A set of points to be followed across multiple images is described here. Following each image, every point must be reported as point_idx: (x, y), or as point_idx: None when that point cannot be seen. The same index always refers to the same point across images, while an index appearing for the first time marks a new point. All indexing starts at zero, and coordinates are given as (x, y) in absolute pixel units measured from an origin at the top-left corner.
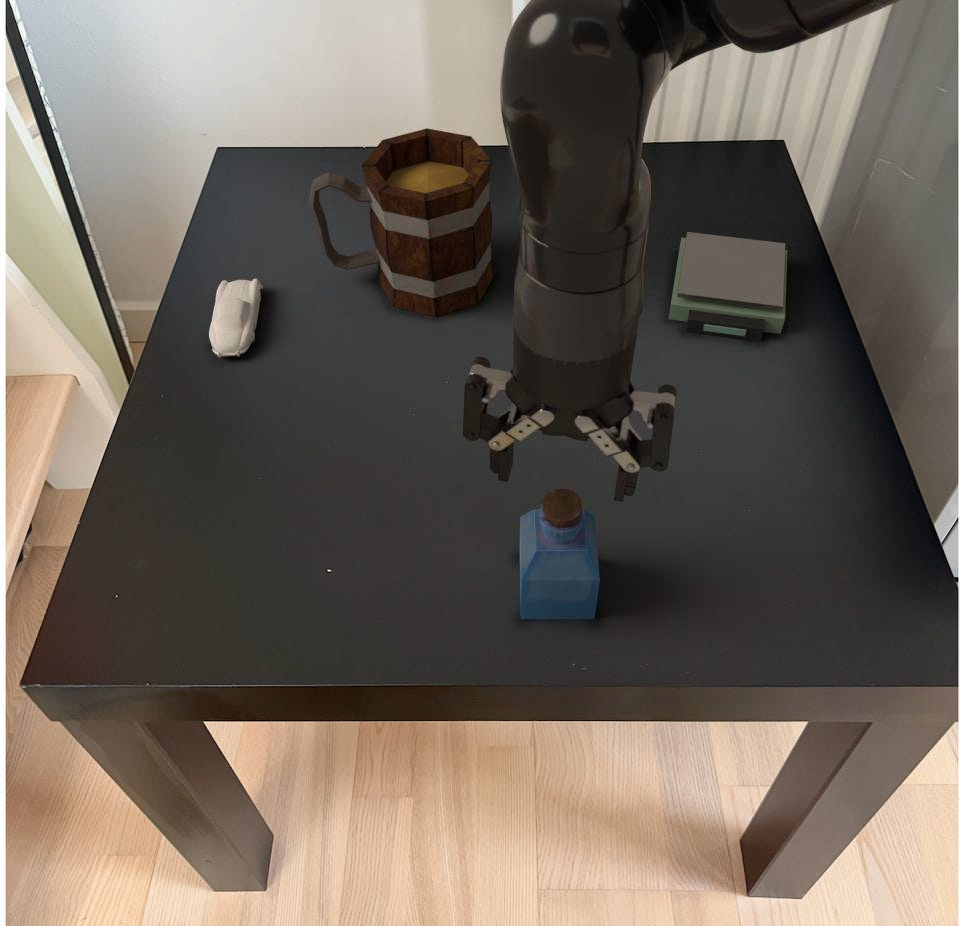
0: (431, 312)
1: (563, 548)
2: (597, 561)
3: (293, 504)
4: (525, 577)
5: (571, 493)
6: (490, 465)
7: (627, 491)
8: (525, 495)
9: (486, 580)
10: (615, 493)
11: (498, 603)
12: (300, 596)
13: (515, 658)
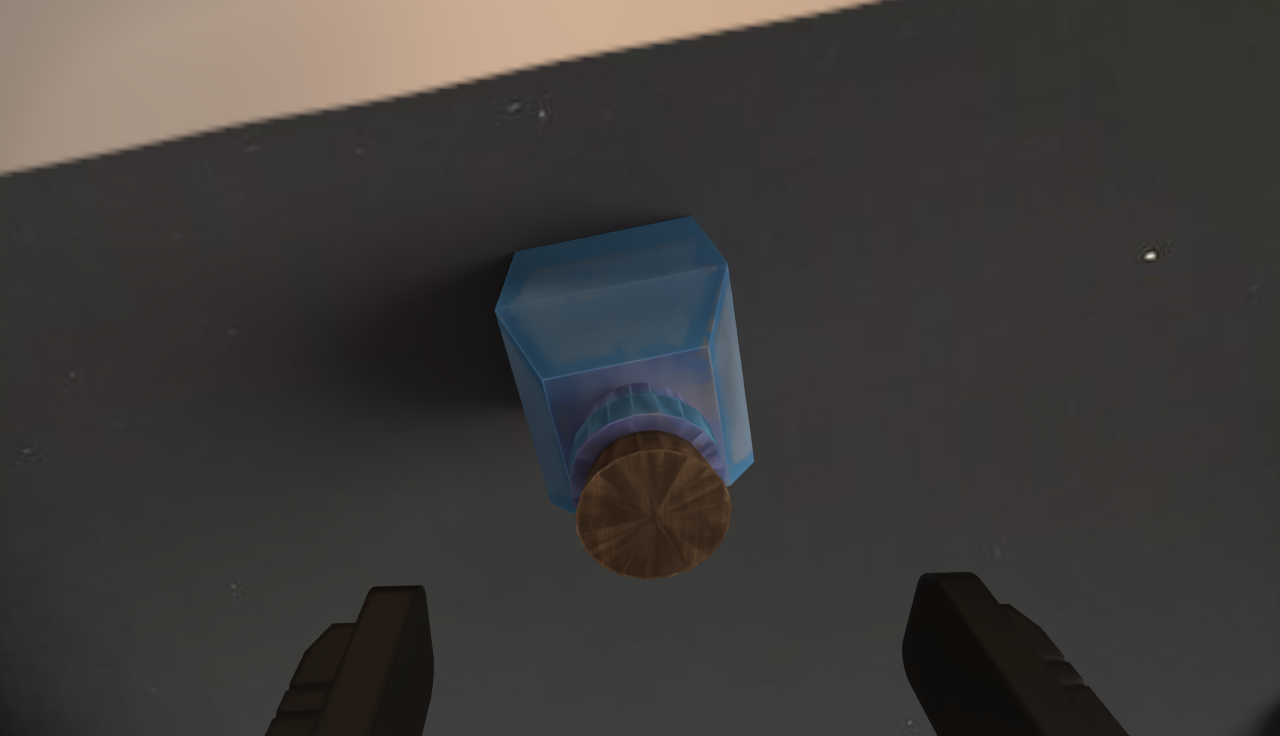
0: None
1: (618, 372)
2: (512, 367)
3: (1226, 403)
4: (717, 271)
5: (626, 565)
6: (1052, 644)
7: (344, 649)
8: None
9: (784, 303)
10: (399, 628)
11: (749, 248)
12: (1220, 172)
13: (688, 102)
